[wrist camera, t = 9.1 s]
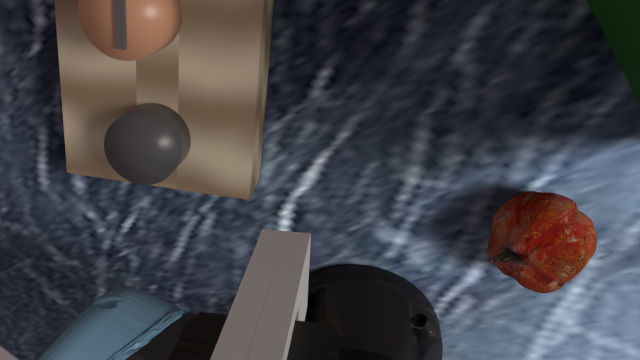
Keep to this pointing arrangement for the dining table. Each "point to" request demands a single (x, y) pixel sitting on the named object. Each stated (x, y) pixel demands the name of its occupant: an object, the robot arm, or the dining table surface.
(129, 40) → the orange knob middle
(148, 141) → the black knob
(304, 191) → the dining table surface
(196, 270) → the dining table surface
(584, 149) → the dining table surface
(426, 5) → the dining table surface
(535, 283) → the pomegranate
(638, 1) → the hardback book
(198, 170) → the mount
